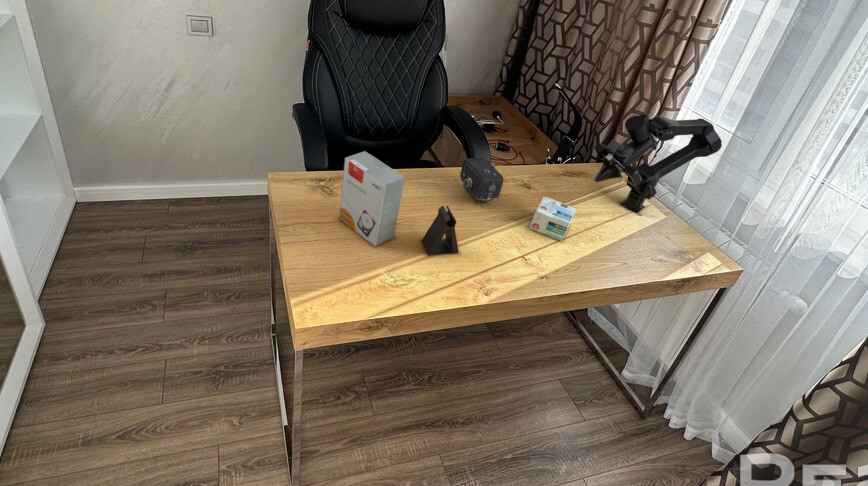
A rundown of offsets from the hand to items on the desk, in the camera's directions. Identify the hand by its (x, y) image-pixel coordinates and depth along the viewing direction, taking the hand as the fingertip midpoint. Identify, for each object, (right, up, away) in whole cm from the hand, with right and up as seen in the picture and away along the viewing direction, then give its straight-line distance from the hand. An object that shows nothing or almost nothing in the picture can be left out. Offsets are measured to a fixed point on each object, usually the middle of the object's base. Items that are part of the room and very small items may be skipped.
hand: (595, 181), depth 162 cm
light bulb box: (-13, -9, -2) cm, 16 cm away
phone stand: (-51, -20, -22) cm, 59 cm away
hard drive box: (-71, -15, -20) cm, 75 cm away
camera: (-37, -4, +4) cm, 38 cm away
